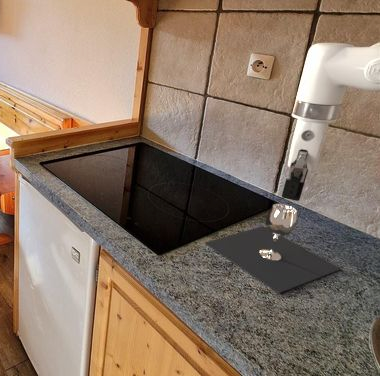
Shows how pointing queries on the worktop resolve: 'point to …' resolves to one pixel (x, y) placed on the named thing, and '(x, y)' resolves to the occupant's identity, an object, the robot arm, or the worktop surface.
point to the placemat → (269, 269)
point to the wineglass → (279, 226)
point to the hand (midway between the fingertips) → (292, 190)
